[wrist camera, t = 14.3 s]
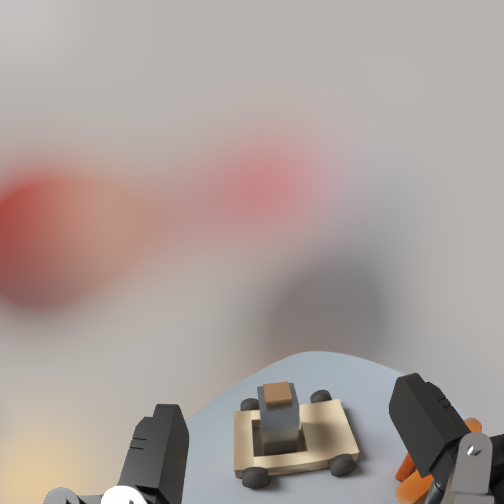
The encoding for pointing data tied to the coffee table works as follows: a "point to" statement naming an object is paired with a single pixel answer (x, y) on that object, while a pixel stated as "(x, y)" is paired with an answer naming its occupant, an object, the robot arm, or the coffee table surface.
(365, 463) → the coffee table surface
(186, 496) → the coffee table surface
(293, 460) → the chassis
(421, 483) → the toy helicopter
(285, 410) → the block
